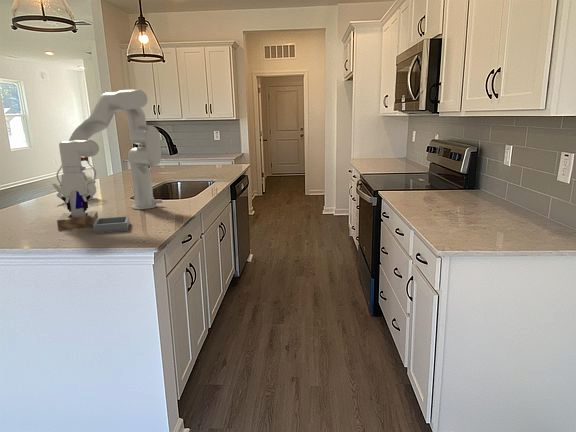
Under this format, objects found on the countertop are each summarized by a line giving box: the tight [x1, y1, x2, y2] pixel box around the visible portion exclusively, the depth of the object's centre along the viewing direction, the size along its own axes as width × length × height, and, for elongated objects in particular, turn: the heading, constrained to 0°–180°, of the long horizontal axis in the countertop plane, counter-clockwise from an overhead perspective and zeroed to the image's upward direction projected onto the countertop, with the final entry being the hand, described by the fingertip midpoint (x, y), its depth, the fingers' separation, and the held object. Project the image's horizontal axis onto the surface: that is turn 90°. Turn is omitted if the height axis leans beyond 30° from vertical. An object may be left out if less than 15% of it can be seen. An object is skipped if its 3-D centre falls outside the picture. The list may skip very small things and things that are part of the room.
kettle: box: [51, 157, 97, 201], centre depth 233 cm, size 25×18×25 cm
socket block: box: [56, 210, 99, 230], centre depth 179 cm, size 14×14×4 cm
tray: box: [92, 215, 130, 234], centre depth 171 cm, size 13×13×4 cm
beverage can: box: [69, 190, 86, 218], centre depth 178 cm, size 6×6×15 cm
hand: (78, 210), depth 178 cm, fingers closed on beverage can, 5 cm apart
